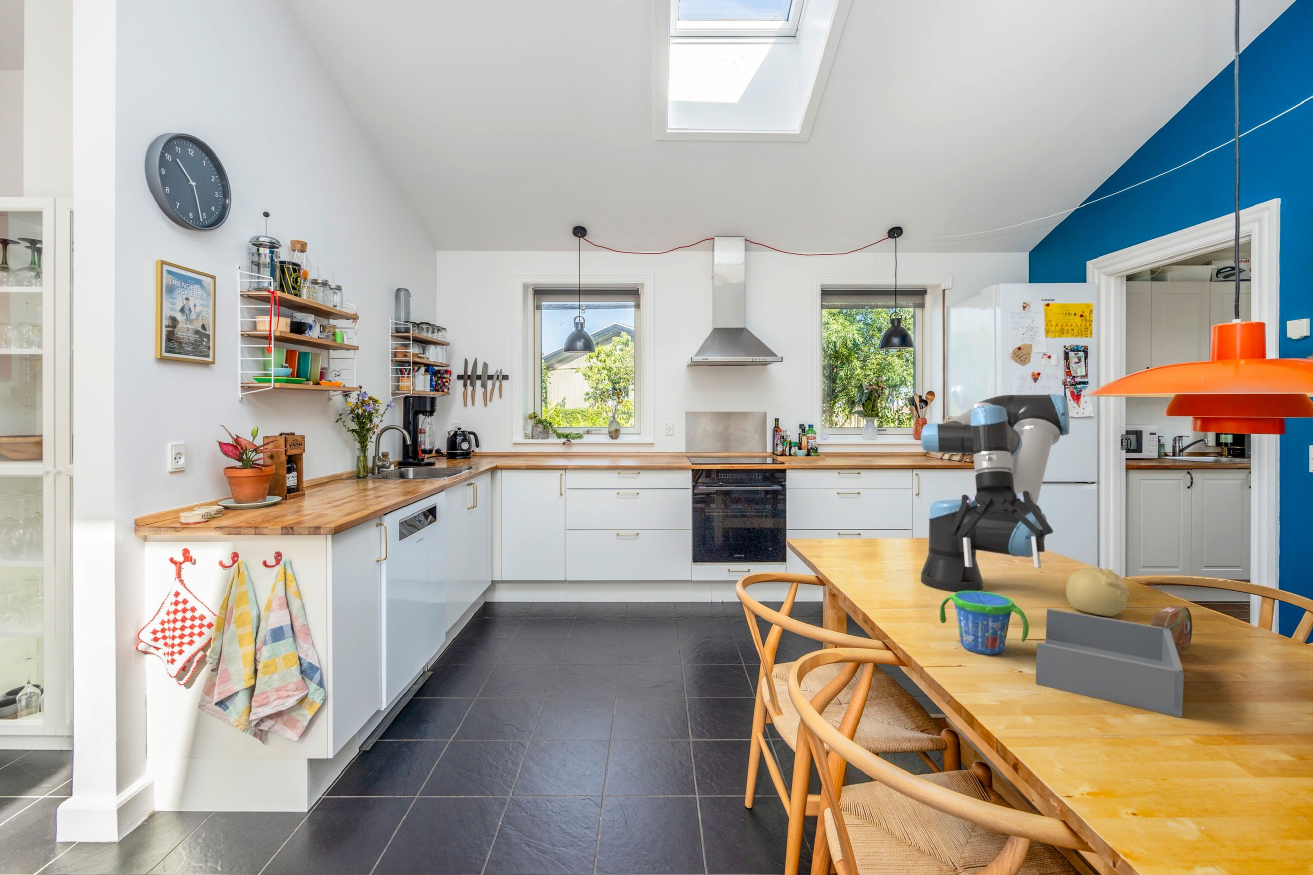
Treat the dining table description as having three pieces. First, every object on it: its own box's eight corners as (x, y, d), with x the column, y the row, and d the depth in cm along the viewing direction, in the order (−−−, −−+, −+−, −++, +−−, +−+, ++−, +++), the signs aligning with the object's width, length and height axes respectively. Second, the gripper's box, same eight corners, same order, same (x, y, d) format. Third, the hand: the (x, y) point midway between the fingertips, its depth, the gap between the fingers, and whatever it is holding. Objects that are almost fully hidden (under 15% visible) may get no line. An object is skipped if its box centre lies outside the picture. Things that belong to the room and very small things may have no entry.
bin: (1046, 642, 123) (1047, 608, 122) (1168, 665, 111) (1169, 628, 111) (1035, 683, 103) (1037, 643, 103) (1181, 717, 92) (1183, 672, 92)
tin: (1166, 662, 113) (1168, 618, 113) (1145, 656, 116) (1147, 613, 116) (1193, 645, 122) (1195, 604, 121) (1173, 640, 124) (1175, 600, 124)
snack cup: (929, 642, 122) (930, 593, 121) (953, 631, 128) (955, 584, 128) (1014, 668, 110) (1015, 613, 109) (1035, 654, 116) (1037, 602, 116)
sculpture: (1134, 623, 134) (1136, 576, 134) (1069, 615, 139) (1071, 569, 139) (1120, 609, 144) (1122, 564, 144) (1061, 601, 150) (1062, 559, 149)
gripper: (931, 474, 143) (937, 565, 138) (1054, 464, 127) (1066, 567, 122) (941, 479, 149) (947, 567, 144) (1061, 470, 132) (1072, 568, 127)
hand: (1002, 567), depth 133 cm, fingers open, 13 cm apart
